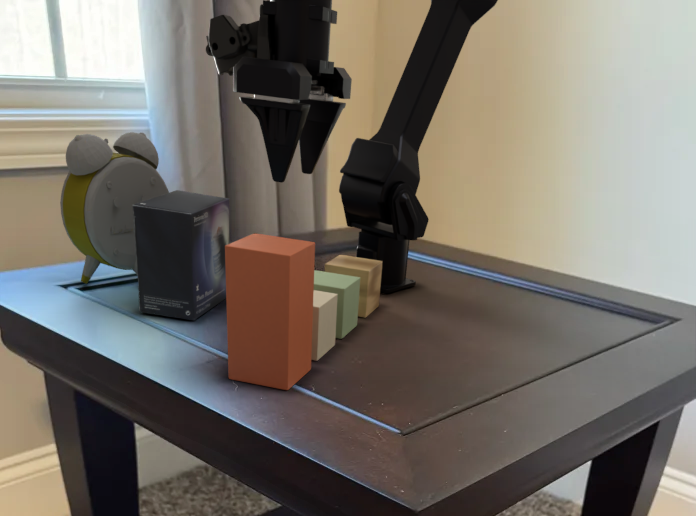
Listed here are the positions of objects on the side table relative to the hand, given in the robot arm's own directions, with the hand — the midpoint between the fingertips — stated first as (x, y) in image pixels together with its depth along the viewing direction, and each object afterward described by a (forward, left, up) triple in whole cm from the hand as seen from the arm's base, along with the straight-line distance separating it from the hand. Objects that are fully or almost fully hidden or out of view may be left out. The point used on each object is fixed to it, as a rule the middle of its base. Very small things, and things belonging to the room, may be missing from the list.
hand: (293, 177), depth 79 cm
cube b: (+4, +8, -13) cm, 16 cm away
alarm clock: (+8, -17, -13) cm, 23 cm away
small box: (+9, -6, -13) cm, 17 cm away
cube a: (-4, +6, -13) cm, 15 cm away
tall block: (+17, +13, -13) cm, 25 cm away
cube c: (+10, +11, -13) cm, 20 cm away
